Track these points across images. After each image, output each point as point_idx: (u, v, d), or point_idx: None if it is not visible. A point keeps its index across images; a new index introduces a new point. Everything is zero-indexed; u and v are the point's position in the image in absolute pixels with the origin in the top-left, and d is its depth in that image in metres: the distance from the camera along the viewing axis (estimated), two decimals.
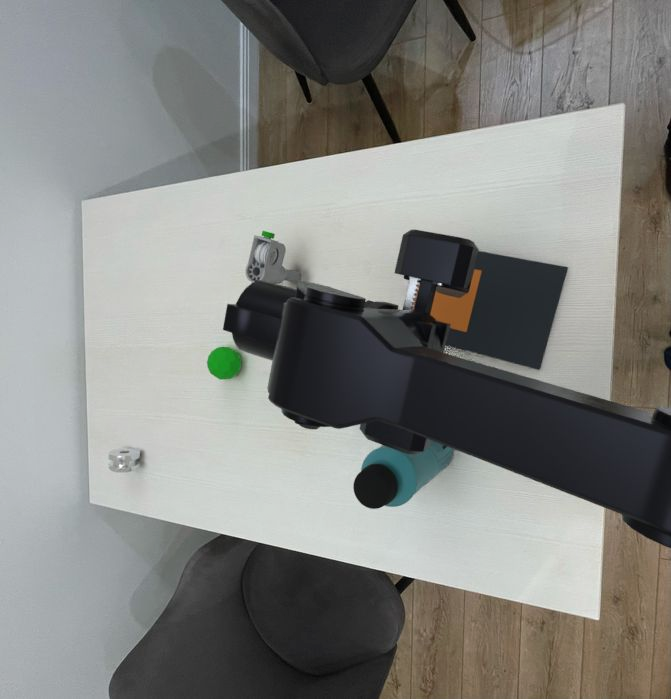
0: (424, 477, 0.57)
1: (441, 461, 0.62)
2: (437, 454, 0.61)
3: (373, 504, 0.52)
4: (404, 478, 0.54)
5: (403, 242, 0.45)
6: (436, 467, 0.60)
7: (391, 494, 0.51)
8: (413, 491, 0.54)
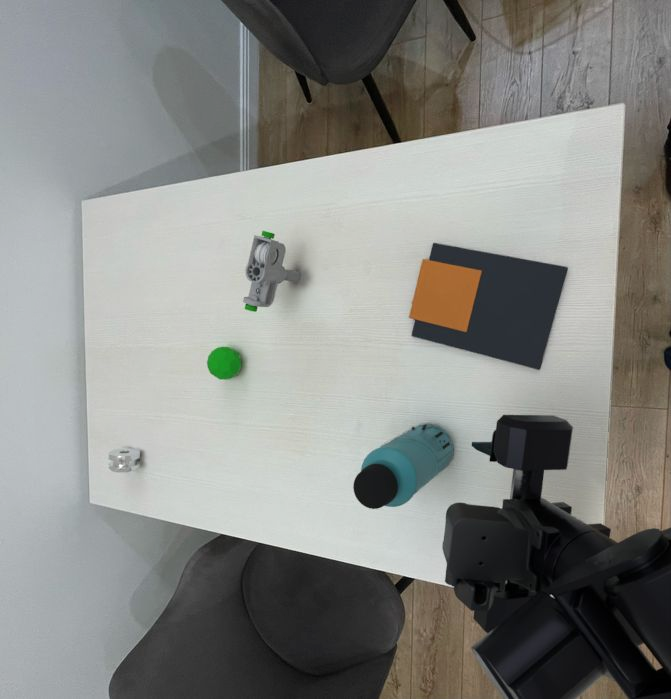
0: (424, 477, 0.57)
1: (441, 461, 0.62)
2: (437, 454, 0.61)
3: (373, 504, 0.52)
4: (404, 478, 0.54)
5: (515, 436, 0.43)
6: (436, 467, 0.60)
7: (391, 494, 0.51)
8: (413, 491, 0.54)
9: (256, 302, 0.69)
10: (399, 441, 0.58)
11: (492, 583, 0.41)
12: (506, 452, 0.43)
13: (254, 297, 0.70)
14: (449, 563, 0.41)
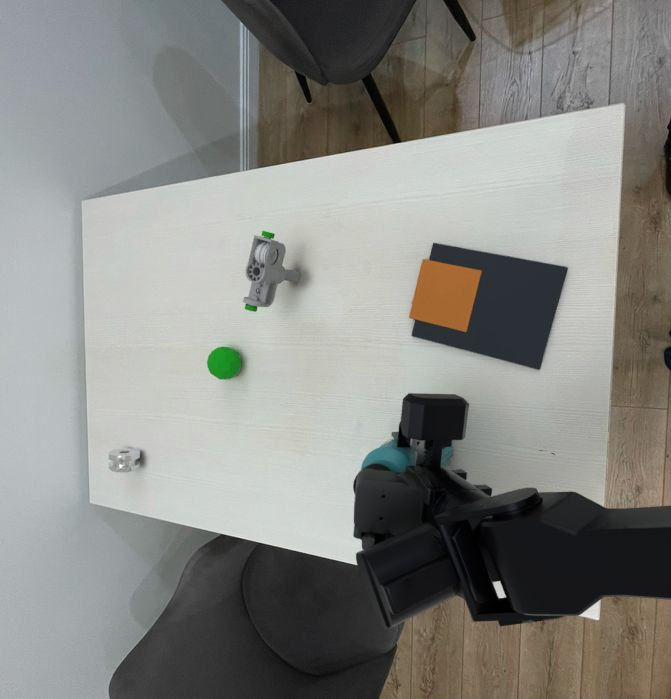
0: None
1: (441, 461, 0.62)
2: None
3: None
4: None
5: (415, 410, 0.50)
6: None
7: None
8: None
9: (256, 302, 0.69)
10: None
11: (391, 535, 0.47)
12: (408, 425, 0.50)
13: (254, 297, 0.70)
14: (354, 518, 0.47)
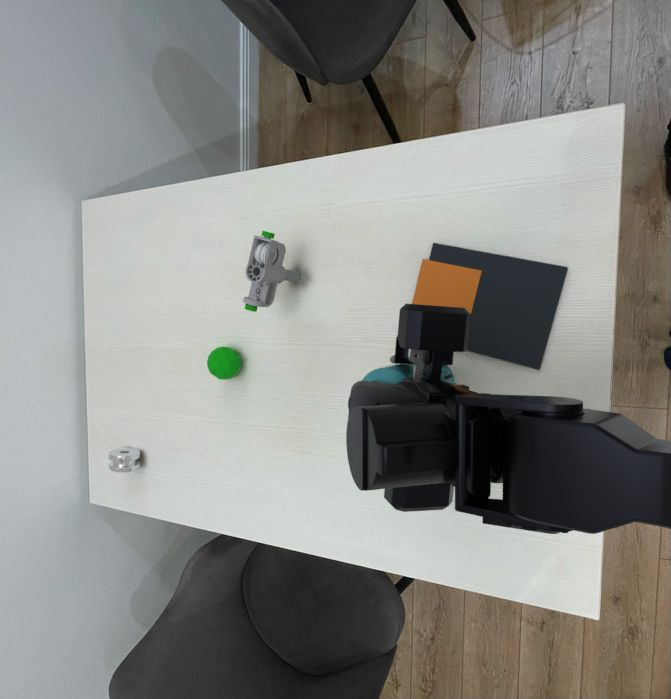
0: None
1: None
2: None
3: None
4: None
5: (412, 318, 0.47)
6: None
7: None
8: None
9: (256, 302, 0.69)
10: (397, 365, 0.55)
11: None
12: (406, 334, 0.47)
13: (254, 297, 0.70)
14: None
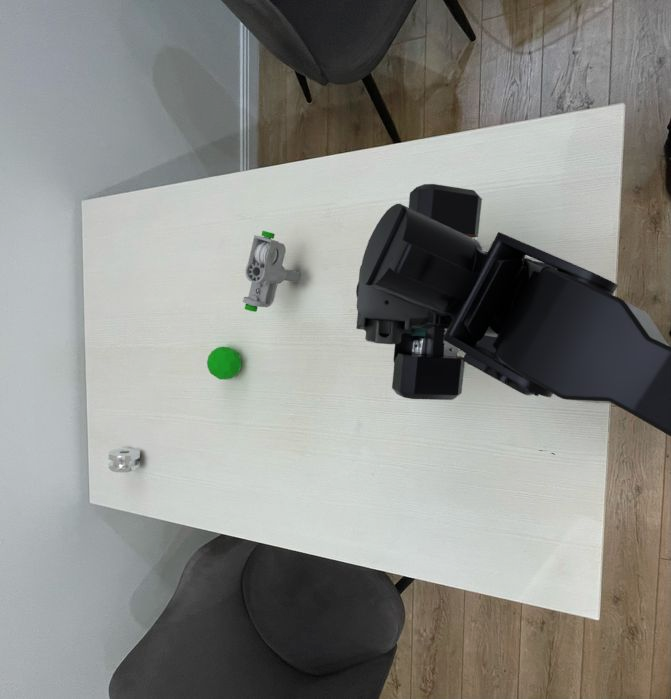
0: None
1: None
2: None
3: None
4: None
5: (423, 197, 0.46)
6: None
7: None
8: None
9: (256, 302, 0.69)
10: None
11: (397, 321, 0.43)
12: None
13: (254, 297, 0.70)
14: (357, 303, 0.43)
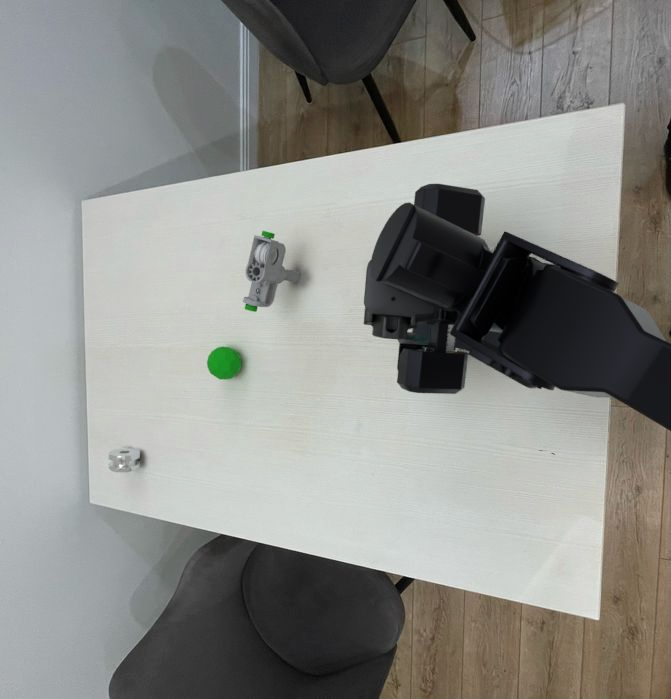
0: None
1: None
2: None
3: None
4: None
5: (428, 196, 0.47)
6: None
7: None
8: None
9: (256, 302, 0.69)
10: None
11: (404, 317, 0.45)
12: None
13: (254, 297, 0.70)
14: (365, 299, 0.45)
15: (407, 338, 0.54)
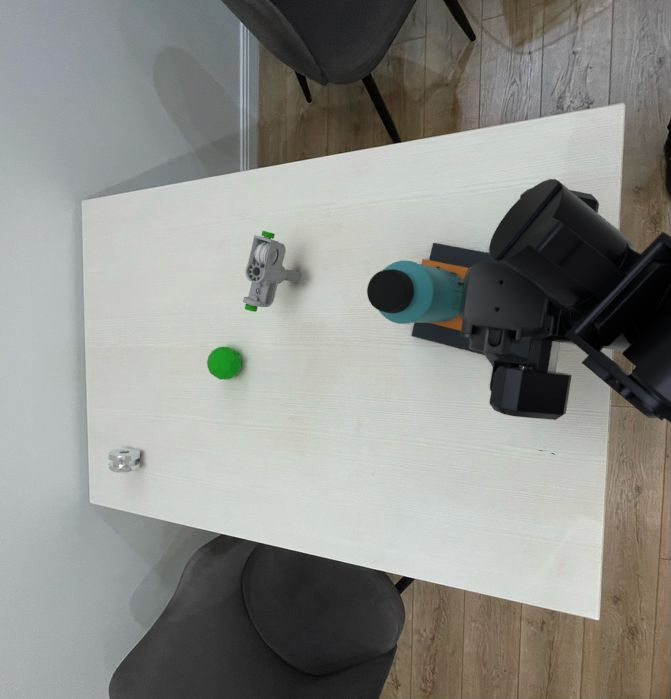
0: (440, 296, 0.54)
1: (456, 295, 0.59)
2: (453, 285, 0.58)
3: (388, 305, 0.49)
4: (420, 286, 0.51)
5: None
6: (451, 297, 0.58)
7: (407, 294, 0.49)
8: (429, 302, 0.52)
9: (256, 302, 0.69)
10: None
11: (508, 330, 0.40)
12: None
13: (254, 297, 0.70)
14: (465, 308, 0.40)
15: (499, 356, 0.49)
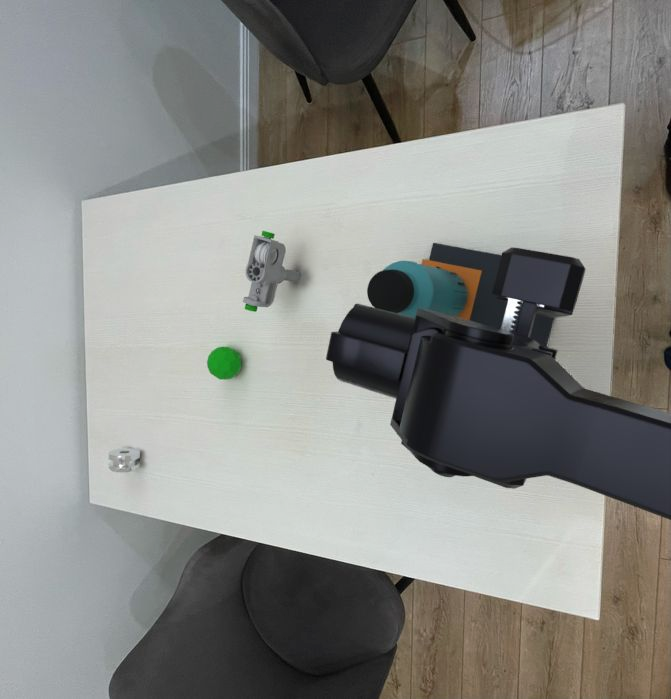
0: (440, 296, 0.54)
1: (456, 295, 0.59)
2: (453, 285, 0.58)
3: (388, 306, 0.49)
4: (420, 287, 0.51)
5: (503, 261, 0.42)
6: (451, 297, 0.58)
7: (407, 294, 0.49)
8: (429, 302, 0.52)
9: (256, 302, 0.69)
10: None
11: None
12: None
13: (254, 297, 0.70)
14: None
15: None
